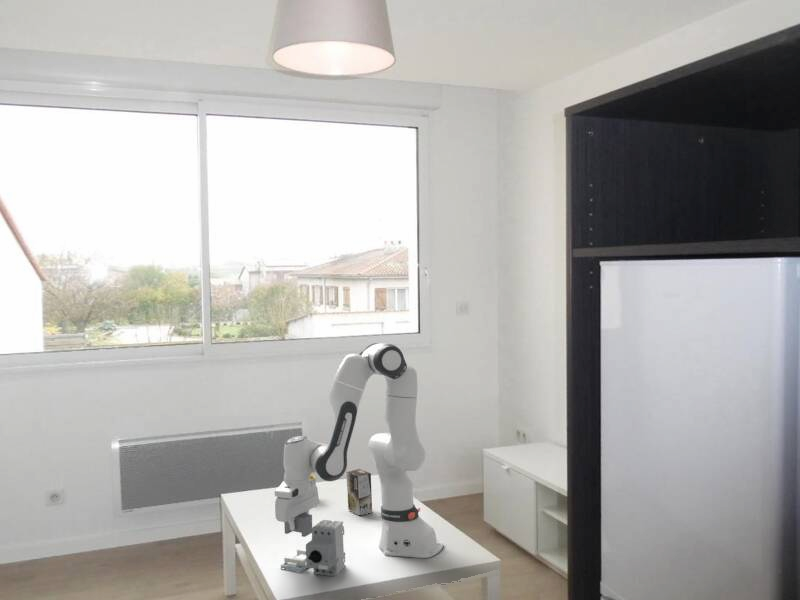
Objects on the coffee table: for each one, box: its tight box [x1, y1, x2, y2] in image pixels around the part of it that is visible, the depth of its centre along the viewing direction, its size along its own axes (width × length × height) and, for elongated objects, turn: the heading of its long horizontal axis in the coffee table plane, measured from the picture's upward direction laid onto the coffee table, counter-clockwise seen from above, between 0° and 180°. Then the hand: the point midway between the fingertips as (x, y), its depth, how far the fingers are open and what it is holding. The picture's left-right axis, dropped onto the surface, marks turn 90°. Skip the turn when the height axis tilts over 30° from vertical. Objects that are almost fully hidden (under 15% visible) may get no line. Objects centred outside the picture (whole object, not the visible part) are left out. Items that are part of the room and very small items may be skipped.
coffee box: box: [346, 468, 373, 516], centre depth 295 cm, size 9×6×16 cm
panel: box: [280, 548, 308, 573], centre depth 246 cm, size 8×14×3 cm, turn 153°
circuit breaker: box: [305, 519, 346, 577], centre depth 236 cm, size 8×14×15 cm, turn 159°
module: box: [283, 513, 313, 538], centre depth 245 cm, size 8×4×6 cm, turn 63°
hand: (298, 526), depth 245 cm, fingers closed on module, 4 cm apart
